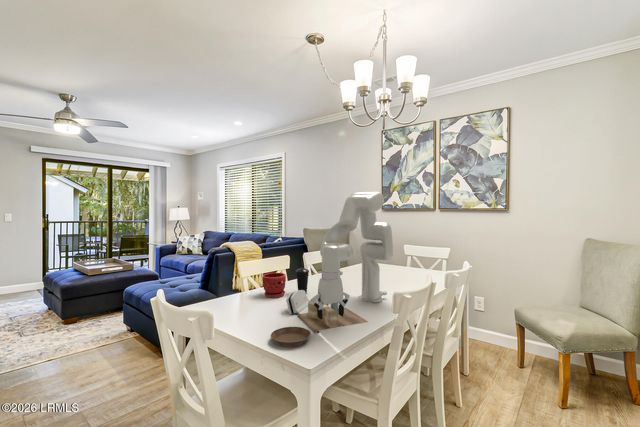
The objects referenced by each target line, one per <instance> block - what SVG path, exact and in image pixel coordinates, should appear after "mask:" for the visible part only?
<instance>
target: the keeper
mask: <svg viewBox="0 0 640 427" xmlns="http://www.w3.org/2000/svg"><path fill="white" fill-rule="evenodd" d="M330 308H332V309H333V310H335V311H336V312H337V316H338V309H339V303H333V304H330Z"/></svg>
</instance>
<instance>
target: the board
mask: <svg viewBox="0 0 640 427" xmlns="http://www.w3.org/2000/svg"><path fill="white" fill-rule="evenodd" d="M338 313H339V308H338ZM297 317H298V318H299V319H300V320H301V321H303V323H304V324H305V325H306V326H308V327H309V329H311V331H313V332H314V334H318V333H320V331H321V330H327V329H333V328H340V327H341V328H342V327H346V326H347V327H348V326H354V325H358V324H365V323H369V321H368V320H366V319H365V318H363V317H361V316H360V315H358V314H357V313H355V312H353V311H351V310H350V309H349V308H347V307H344V314H343V316H340V315H339V314H338V316H337V326H336V327H329V326H327V325H326V324H325V323H324V322H323V321H321V320H320V319H316V318H311V317H309V316H308V312H303V313H299V314H298V313H297Z"/></svg>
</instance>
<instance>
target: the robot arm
mask: <svg viewBox="0 0 640 427" xmlns="http://www.w3.org/2000/svg"><path fill="white" fill-rule="evenodd" d="M384 204H385V198H384V194H382V192H380V191H370V192H369V191H363V192H362V191H360V192H359V191H358V192H353V193H351V194H350V195H349V196H348V197H347V198H345V202H344V205H343V207H342V210H341V214H340V216H339V220H338V221H337V222H336V223H334V225H332V226H331V227H330V228H329V229H328V230H327V231H326V232H325V234H324V236H323V238H322V242H321V245H320V249H319V253H320V256H321V277H320V278H319V281H318V287H317V294H316V295H314V296H313V297H312V298H310V300H311V301H312V303H313V305H314V306H315V307H316V308H317V317H318V318H319V319H320V320H322V319H323V310H322V307H323V306H324V304H328V305H331V304H333V303H338V309H339V313H338V314H339V315H340V316H343V314H344V308H346V304H347V303H348V301H349V299H350V294H348V293H347V292H345V291H344V288H343V280H342V278H341V276H343V271H341V262H348V261H350V260H351V259H352V257H353V254H354V250H353V247H352V246H351V245H350V244H348V243H342V242H341V243H339V242H335V240H336V239H338V238H339V237H340V236H342V235H346V234H348V233H350V232H353V231H354V230H356V229H357V227H358V223H359V222H360V234H361V237H362V238H363V239H365V240H367V241H363V242H361V243H360V247H359V252H360V258H361V260H360V261H361V295H359V296H358V299H359V300H361V301H365V302H370V303H372V304H373V303H374V304H376V303H380V302H382V301H383V296H387V295H388V292H387V291H382V290H380V284H381V283H380V271H381V269H380V266H379V263H378V262H377V260H378V261H390V260H392V258H393V256H394V244H393V242H394V241H393V231H392V226H391V224H389V223H388V222H386V221H385V222H383V221H382V222H381V221H377V211H379V210H380V209H382V207H384ZM317 299H318V301H319V302H318V304H317V303H316V300H317Z"/></svg>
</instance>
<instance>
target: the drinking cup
mask: <svg viewBox="0 0 640 427" xmlns="http://www.w3.org/2000/svg"><path fill="white" fill-rule="evenodd" d="M295 272H296V283H297V291H298V290H304V291H305V293H306V295H307V294H308V293H307V292H308V283H309V272H310V269H307V268H305V267H304V259H301V267H300V268H298V269H296V270H295Z"/></svg>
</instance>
